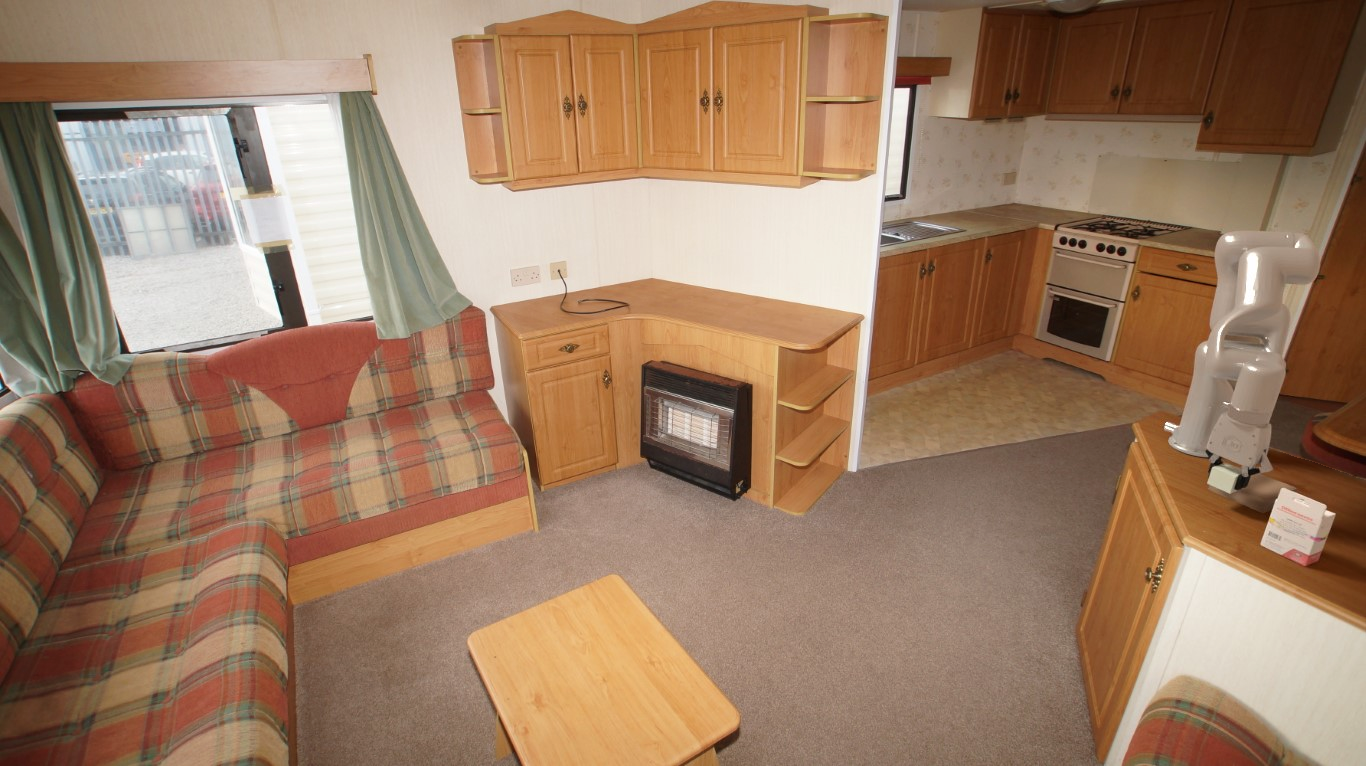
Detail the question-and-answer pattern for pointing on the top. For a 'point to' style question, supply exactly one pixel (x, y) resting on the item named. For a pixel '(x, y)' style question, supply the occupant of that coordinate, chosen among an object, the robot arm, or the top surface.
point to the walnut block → (1257, 492)
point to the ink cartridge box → (1297, 527)
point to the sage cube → (1224, 477)
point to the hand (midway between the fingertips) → (1226, 482)
